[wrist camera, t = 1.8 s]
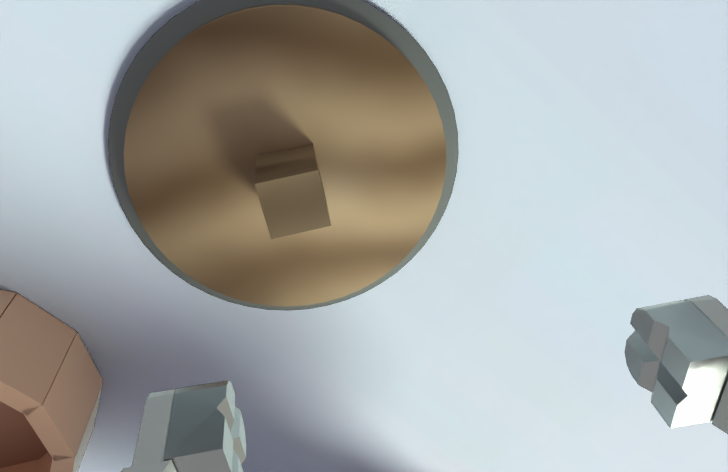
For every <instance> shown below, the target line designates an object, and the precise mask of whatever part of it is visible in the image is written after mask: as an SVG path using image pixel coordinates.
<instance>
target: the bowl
mask: <svg viewBox="0 0 728 472" xmlns="http://www.w3.org/2000/svg"><path fill="white" fill-rule="evenodd" d="M102 385H103V379H102V377H101V375H100V373H99V371H98V369H97V368H96V366H95V364H94V362H93V360H92V358H91V357H90V355H89V353H88V351H87V349H86V347H85V345H84V344H83V342H82V340H81V338H80V336H79V334H78V333H77V332H76V331H75V330H74V329H72V328H71V327H69V326H68V325H66V324H64V323H63V322H61V321H60V320H58V319H57V318H55V317H54V316H52V315H51V314H49V313H47V312H46V311H44V310H43V309H41V308H40V307H38V306H37V305H35V304H34V303H32V302H30V301H29V300H27V299H26V298H24V297H23V296H21V295H20V294H18V293H17V294H16V292H10V291H5V290H0V472H78V470H79V467H80V464H81V462H82V459H83V456H84V453H85V450H86V447H87V445H88V442H89V439H90V436H91V433H92V430H93V428H94V424H95V419H96V415H97V410H98V405H99V400H100V395H101V390H102Z"/></svg>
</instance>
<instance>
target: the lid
mask: <svg viewBox="0 0 728 472" xmlns="http://www.w3.org/2000/svg"><path fill="white" fill-rule="evenodd" d="M445 171H446V141H445V136H444V130H443V125H442V121H441V118H440V115H439V112H438V109H437V106H436V103H435V101H434V99H433V97H432V95H431V93H430V91H429V89H428V87H427V85H426V83H425V82H424V80H423V79H422V78H421V76H420V75H419V73H418V72H417V70H416V69H415V67H414V66H413V65H412V64H411V63H410V62H409V61H408V60H407V59H406V58H405V56H404V55H403V54H402V53H401V52H400V51H399V50H398V49H397V48H396V47H395V46H393V45H392V44H391V43H390V42H389V41H387V40H386V39H385V38H384V37H383V36H381V35H380V34H379V33H377V32H375V31H374V30H372V29H371V28H369V27H367V26H366V25H364V24H362V23H361V22H359V21H356V20H354V19H352V18H349V17H347V16H345V15H343V14H340V13H337V12H333V11H330V10H326V9H323V8H319V7H313V6H306V5H299V4H268V5H261V6H254V7H248V8H244V9H241V10H237V11H234V12H230V13H227V14H224V15H222V16H220V17H218V18H216V19H213V20H211V21H209V22H207V23H205V24H203V25H202V26H200V27H198V28H197V29H195V30H194V31H192V32H191V33H189V34H187V35H186V36H185V37H184V38H182V39H181V40H180V41H179V42H178V43H177V44H176V45H174V46H173V47H172V48H171V49H170V50H169V51H168V52H167V53H166V54H165V56H164V57H163V58H162V59H161V60H160V61H159V63H158V64H157V65H156V66H155V67H154V68H153V70H152V71H151V73H150V74H149V76H148V77H147V79H146V81H145V82H144V84H143V85H142V87H141V89H140V90H139V93H138V95H137V97H136V100H135V102H134V104H133V107H132V109H131V112H130V116H129V120H128V124H127V128H126V133H125V143H124V172H125V177H126V182H127V187H128V192H129V195H130V198H131V201H132V204H133V207H134V210H135V212H136V214H137V216H138V218H139V220H140V222H141V224H142V226H143V228H144V229H145V231H146V232H147V234H148V235H149V237H150V238H151V240H152V241H153V242H154V244H155V245H156V246H157V247H158V249H159V250H160V251H161V252H162V253H163V254H164V255H165V256H166V257H167V259H168V260H170V261H171V262H172V263H173V264H174V265H175V266H176V267H178V268H179V269H180V270H181V271H182V272H184V273H185V274H187V275H188V276H189V277H191V278H192V279H194V280H195V281H197V282H198V283H200V284H202V285H204V286H206V287H208V288H210V289H212V290H214V291H215V292H218V293H221V294H223V295H226V296H228V297H231V298H234V299H238V300H241V301H245V302H249V303H254V304H261V305H267V306H286V307H290V306H305V305H312V304H318V303H323V302H327V301H331V300H334V299H338V298H341V297H344V296H347V295H349V294H351V293H354V292H356V291H359V290H361V289H363V288H364V287H366V286H368V285H370V284H372V283H374V282H375V281H377V280H378V279H380V278H381V277H382V276H384V275H385V274H387V273H388V272H390V271H391V270H392V269H393V268H394V267H395V266H396V265H398V264H399V263H400V262H401V261H402V260H403V259H404V258H405V257H406V256H407V255H408V254H409V252H410V251H411V250H412V249H413V248H414V247H415V246H416V244H417V243H418V241H419V240H420V239H421V237H422V236H423V234H424V233H425V231H426V230H427V228H428V226H429V224H430V222H431V220H432V218H433V216H434V214H435V211H436V209H437V206H438V203H439V200H440V198H441V194H442V189H443V185H444V180H445Z"/></svg>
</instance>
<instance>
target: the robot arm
mask: <svg viewBox="0 0 728 472" xmlns="http://www.w3.org/2000/svg"><path fill="white" fill-rule="evenodd" d="M630 324H631V325H632V326H633V328H634V329H635V331H634V332H633V334H632V335H631V336H630V337H629V338H628V339H627V340H626V347H625V357H626V363H627V366H628V369H629V371H630V373H631V375H632V377H633V378H634V379H635V381H636V382H637V384H638V385H640V386H641V387H643V388H645V389H647V390H649V391H651V392H652V395H651V403H652V404H653V406H654V407H655V408H656V410H657V411H658V413H659V414H660V415H661V417H662V418H663V419H664V421H665V422H666V423H667V425H668V426H669V427H670V428H677V427H683V426H689V425H695V424H701V423H707V422H712V424H713V425H714V426H716V427H717V428H719V429H721V430H722V431H724V432H725V433H727V434H728V309H727V308H726V307H725V306H724V305H723V304H722V303H721V302H720V301H719V300H717V299H716V298H715V297H712V296H710V295H706V296H701V297H695V298H690V299H685V300H679V301H674V302H669V303H663V304H658V305H653V306H647V307H642V308H637V309H636V310H635V311H634V313H633V314H632V318H631V322H630ZM245 459H246V438H245V428H244V423H243V418H242V414H241V411H240V409H239V408H237V407H235V392H234V389H233V386H232V383H231V382H230V381H223V382H216V383H209V384H203V385H196V386H189V387H183V388H177V389H173V390H167V391H160V392H153V393H150V394H149V396H148V397H147V399H146V402H145V406H144V411H143V416H142V420H141V425H140V430H139V434H138V439H137V444H136V448H135V453H134V458H133V463H132V467H129V468H124V469H123V470H122V471H121V472H243V469H242V466H241V464H242V463H243V461H244V460H245Z"/></svg>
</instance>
